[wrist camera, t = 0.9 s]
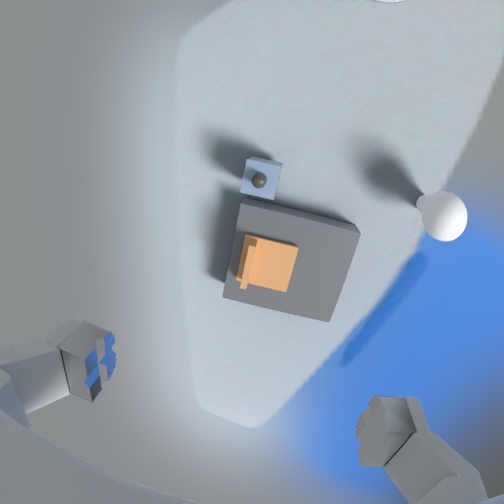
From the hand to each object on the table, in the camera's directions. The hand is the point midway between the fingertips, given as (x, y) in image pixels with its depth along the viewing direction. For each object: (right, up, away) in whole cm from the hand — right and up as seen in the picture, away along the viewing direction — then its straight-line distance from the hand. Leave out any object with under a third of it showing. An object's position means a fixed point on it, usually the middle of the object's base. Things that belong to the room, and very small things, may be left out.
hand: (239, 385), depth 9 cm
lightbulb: (+25, +11, +32) cm, 42 cm away
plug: (+2, +15, +33) cm, 37 cm away
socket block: (+6, +3, +37) cm, 38 cm away
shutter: (+2, +3, +33) cm, 34 cm away
